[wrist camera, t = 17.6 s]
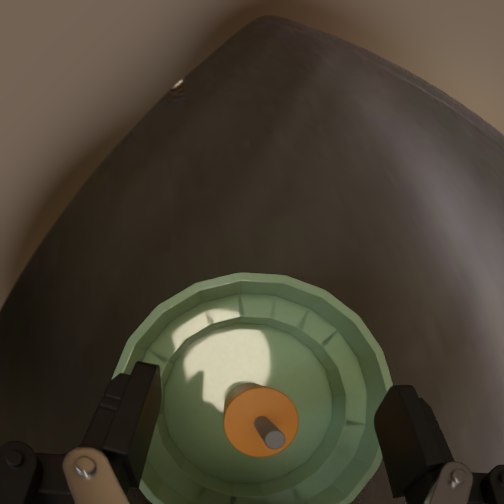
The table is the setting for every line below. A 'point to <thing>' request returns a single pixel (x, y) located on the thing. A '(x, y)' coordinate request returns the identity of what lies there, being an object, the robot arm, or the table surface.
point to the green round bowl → (266, 374)
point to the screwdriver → (259, 420)
